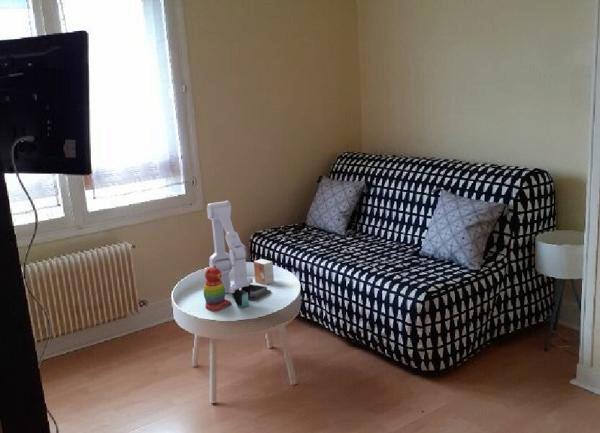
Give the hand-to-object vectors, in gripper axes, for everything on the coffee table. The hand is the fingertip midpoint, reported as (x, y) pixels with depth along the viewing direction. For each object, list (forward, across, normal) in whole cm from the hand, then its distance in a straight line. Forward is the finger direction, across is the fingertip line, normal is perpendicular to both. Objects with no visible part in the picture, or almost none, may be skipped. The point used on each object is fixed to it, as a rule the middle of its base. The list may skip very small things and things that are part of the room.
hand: (242, 303), depth 263 cm
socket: (+1, +13, +4) cm, 14 cm away
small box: (+2, +30, +9) cm, 31 cm away
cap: (+1, 0, 0) cm, 1 cm away
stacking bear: (+2, -4, +11) cm, 12 cm away
